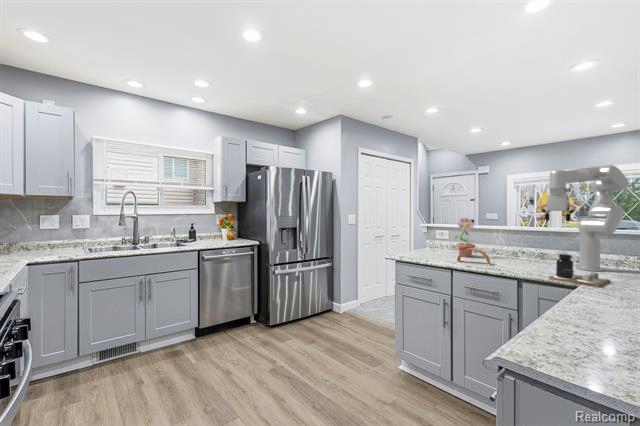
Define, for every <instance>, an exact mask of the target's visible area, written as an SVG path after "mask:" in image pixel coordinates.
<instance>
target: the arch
mask: <svg viewBox="0 0 640 426" xmlns="http://www.w3.org/2000/svg"><path fill="white" fill-rule="evenodd" d="M470 250H472V252H473V251H474V252H477V253H480V254H481V255H482V256H483V257H484V258H485V260H486V262H487V264H490V265H491V260H490V256H489V255H488V254H487V253H486V252H485V251H483V250H482V249H479V248H476V247H475V248H470V249H466V250H464V251H463V252H461V253H460V254H459V253H458V256H457V258H456V262H457V261H459V262H460V261H461V258H462V254H463V253H464V252H466V251H470Z"/></svg>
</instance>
